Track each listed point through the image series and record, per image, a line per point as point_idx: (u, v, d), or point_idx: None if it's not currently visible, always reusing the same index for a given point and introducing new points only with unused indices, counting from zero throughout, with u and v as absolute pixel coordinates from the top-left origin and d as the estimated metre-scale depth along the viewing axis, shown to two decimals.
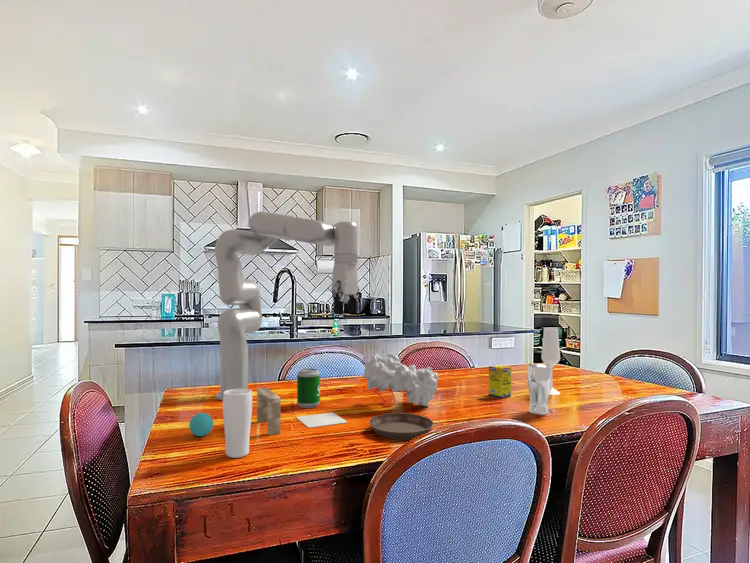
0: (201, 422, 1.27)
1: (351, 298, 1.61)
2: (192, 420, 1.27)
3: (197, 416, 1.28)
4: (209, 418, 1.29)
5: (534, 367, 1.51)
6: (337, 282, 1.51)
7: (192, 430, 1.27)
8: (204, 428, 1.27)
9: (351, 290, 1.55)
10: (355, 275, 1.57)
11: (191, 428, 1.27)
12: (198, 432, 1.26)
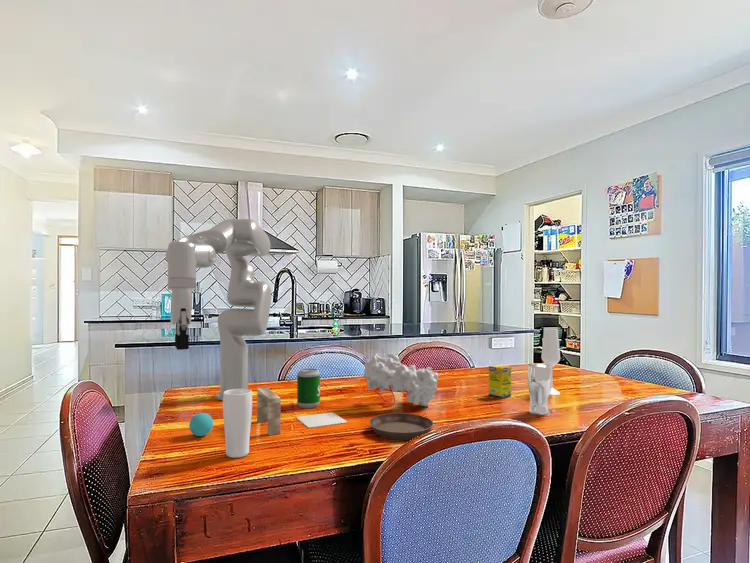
0: (201, 422, 1.27)
1: None
2: (192, 420, 1.27)
3: (197, 416, 1.28)
4: (209, 418, 1.29)
5: (534, 367, 1.51)
6: (183, 313, 1.34)
7: (192, 430, 1.27)
8: (204, 428, 1.27)
9: None
10: None
11: (191, 428, 1.27)
12: (198, 432, 1.26)
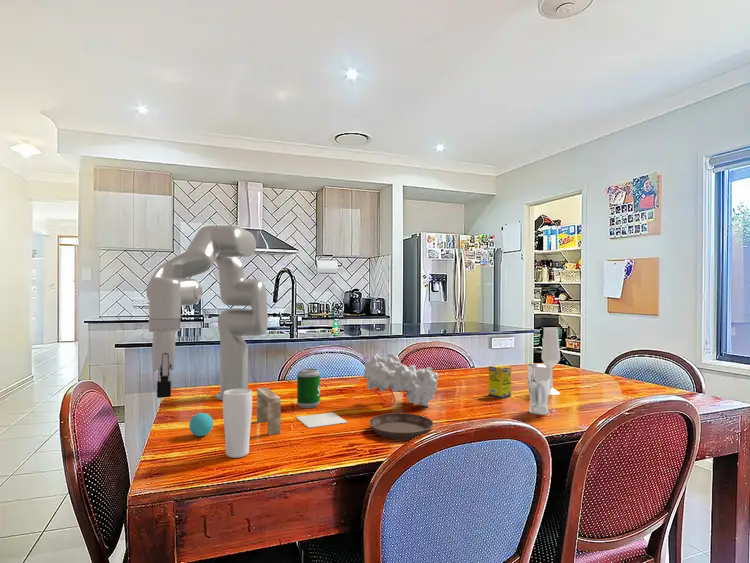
0: (201, 422, 1.27)
1: None
2: (192, 420, 1.27)
3: (197, 416, 1.28)
4: (209, 418, 1.29)
5: (534, 367, 1.51)
6: (164, 361, 1.21)
7: (192, 430, 1.27)
8: (204, 428, 1.27)
9: None
10: None
11: (191, 428, 1.27)
12: (198, 432, 1.26)
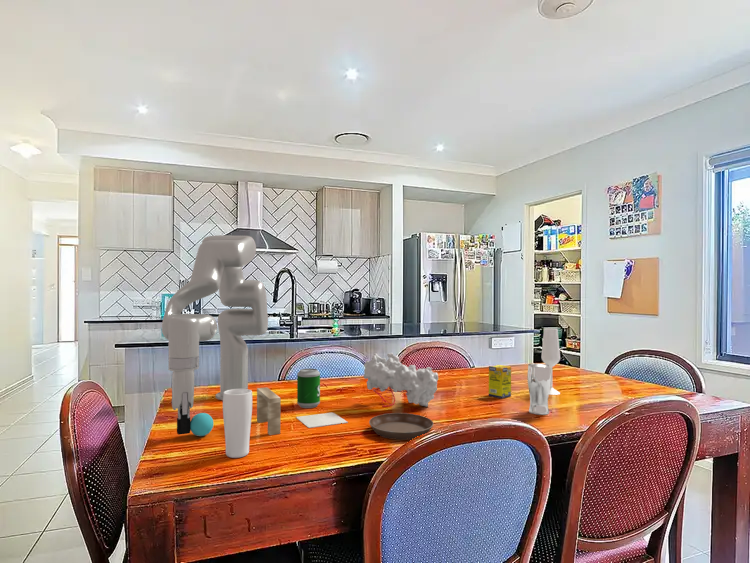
0: (201, 422, 1.27)
1: None
2: (192, 420, 1.27)
3: (197, 416, 1.28)
4: (209, 418, 1.29)
5: (534, 367, 1.51)
6: (184, 399, 1.23)
7: (192, 430, 1.27)
8: (204, 428, 1.27)
9: None
10: None
11: (191, 428, 1.27)
12: (198, 432, 1.27)
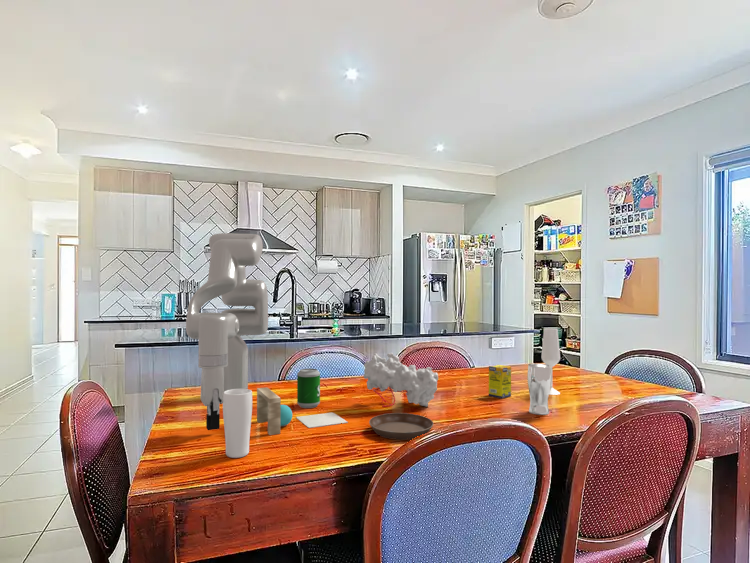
0: (286, 414, 1.36)
1: None
2: None
3: (284, 407, 1.37)
4: (291, 414, 1.38)
5: (534, 367, 1.51)
6: (215, 396, 1.26)
7: None
8: (285, 421, 1.36)
9: None
10: None
11: None
12: None
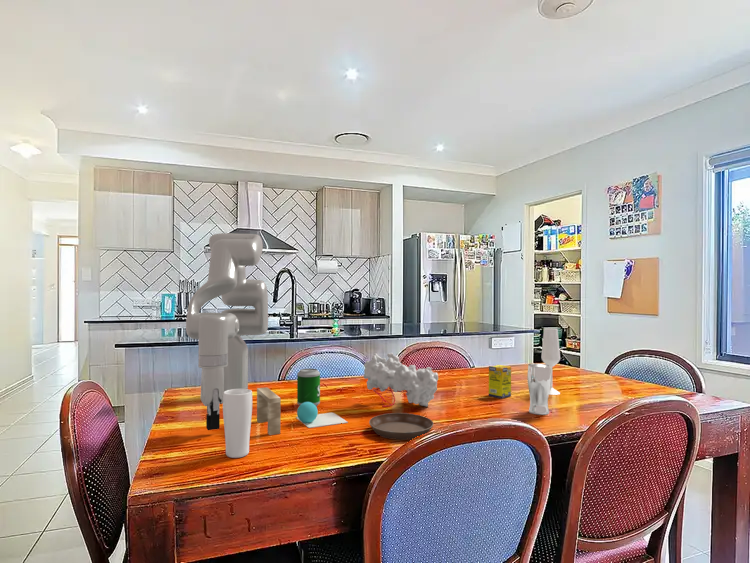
0: (310, 418, 1.39)
1: None
2: None
3: None
4: (302, 420, 1.39)
5: (534, 367, 1.51)
6: (215, 396, 1.26)
7: (316, 409, 1.41)
8: (308, 412, 1.39)
9: None
10: None
11: (317, 410, 1.41)
12: (312, 408, 1.40)
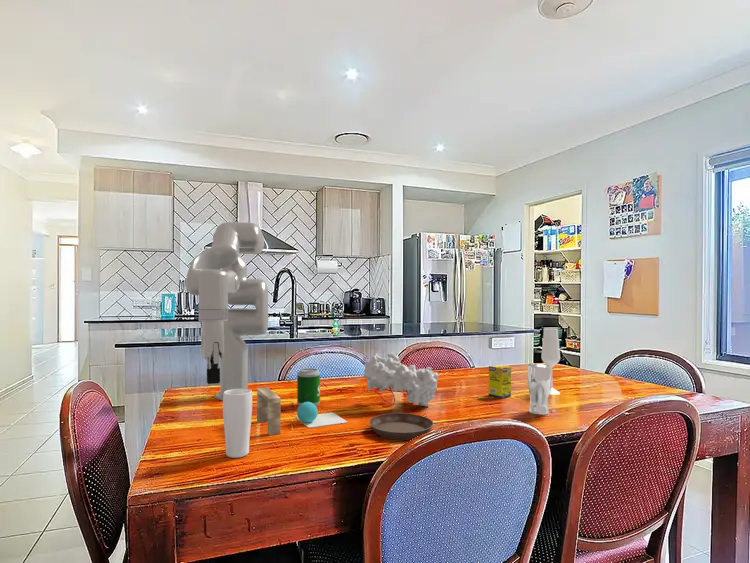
0: (310, 418, 1.39)
1: None
2: None
3: None
4: (302, 420, 1.39)
5: (534, 367, 1.51)
6: (215, 349, 1.27)
7: (316, 409, 1.41)
8: (308, 412, 1.39)
9: None
10: None
11: (317, 410, 1.41)
12: (312, 408, 1.40)
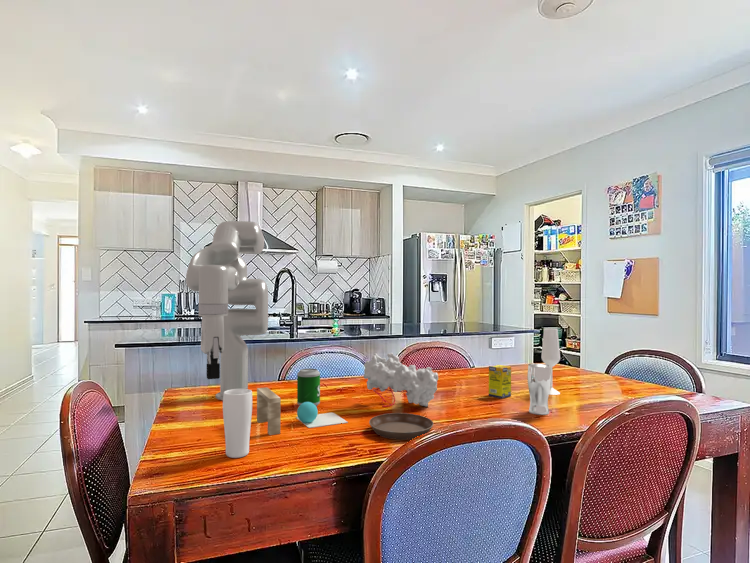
0: (310, 418, 1.39)
1: None
2: None
3: None
4: (302, 420, 1.39)
5: (534, 367, 1.51)
6: (215, 344, 1.26)
7: (316, 409, 1.41)
8: (308, 412, 1.39)
9: None
10: None
11: (317, 410, 1.41)
12: (312, 408, 1.40)
